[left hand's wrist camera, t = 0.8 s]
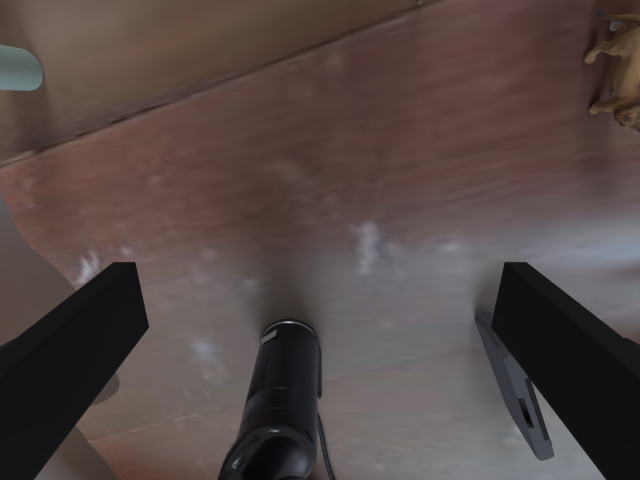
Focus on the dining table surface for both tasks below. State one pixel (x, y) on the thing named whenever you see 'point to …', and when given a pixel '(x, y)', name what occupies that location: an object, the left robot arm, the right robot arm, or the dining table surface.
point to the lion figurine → (622, 71)
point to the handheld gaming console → (516, 390)
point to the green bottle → (19, 69)
